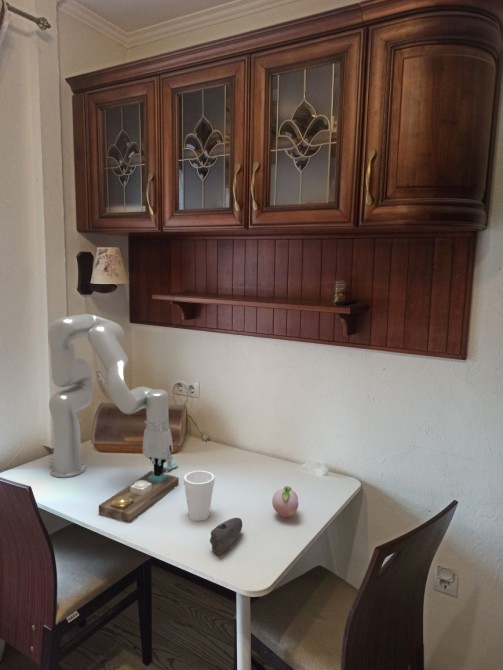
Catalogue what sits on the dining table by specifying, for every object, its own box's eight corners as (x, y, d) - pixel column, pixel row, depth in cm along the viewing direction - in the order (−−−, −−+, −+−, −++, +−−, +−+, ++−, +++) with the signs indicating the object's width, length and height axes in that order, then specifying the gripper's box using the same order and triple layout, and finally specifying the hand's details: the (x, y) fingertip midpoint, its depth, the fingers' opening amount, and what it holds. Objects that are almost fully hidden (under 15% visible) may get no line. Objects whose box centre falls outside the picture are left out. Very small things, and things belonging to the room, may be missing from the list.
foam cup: (201, 526, 145) (201, 486, 143) (178, 517, 150) (177, 478, 148) (219, 513, 153) (220, 475, 151) (196, 505, 158) (197, 468, 156)
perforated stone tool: (234, 529, 145) (234, 508, 143) (249, 534, 142) (249, 513, 141) (204, 554, 132) (204, 531, 131) (219, 561, 129) (219, 537, 128)
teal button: (148, 485, 169) (148, 475, 169) (156, 479, 174) (156, 470, 173) (160, 488, 167) (159, 478, 167) (168, 482, 172) (167, 472, 171)
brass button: (110, 511, 151) (110, 501, 151) (120, 504, 156) (120, 494, 155) (123, 515, 149) (123, 504, 149) (133, 507, 154) (133, 497, 153)
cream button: (130, 494, 160) (130, 484, 160) (139, 488, 165) (139, 478, 164) (142, 498, 158) (142, 487, 158) (151, 491, 163) (151, 481, 162)
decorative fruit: (271, 508, 157) (272, 480, 155) (296, 509, 157) (297, 481, 155) (272, 524, 148) (272, 494, 146) (298, 525, 147) (299, 495, 146)
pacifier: (155, 470, 184) (166, 473, 181) (154, 455, 183) (166, 458, 180) (168, 464, 190) (179, 467, 187) (167, 449, 190) (179, 451, 186)
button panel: (98, 514, 151) (98, 505, 151) (150, 478, 177) (150, 471, 176) (129, 523, 147) (129, 514, 146) (178, 485, 172) (178, 477, 172)
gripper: (133, 425, 167) (135, 474, 170) (170, 431, 161) (170, 482, 164) (146, 419, 174) (147, 466, 176) (181, 424, 168) (182, 474, 170)
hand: (158, 474), depth 170 cm, fingers closed
